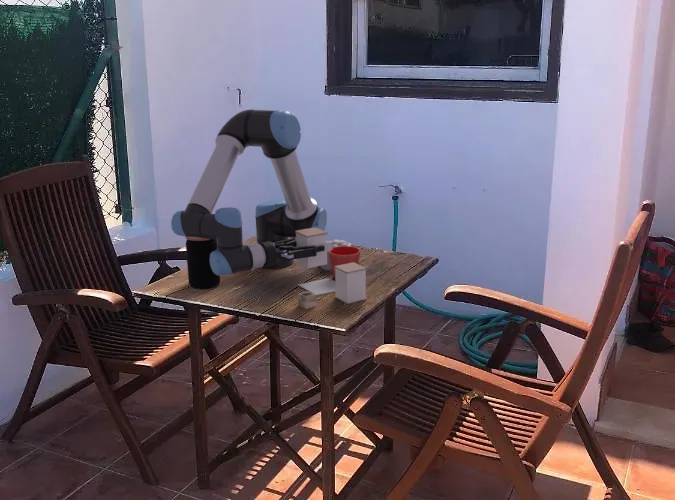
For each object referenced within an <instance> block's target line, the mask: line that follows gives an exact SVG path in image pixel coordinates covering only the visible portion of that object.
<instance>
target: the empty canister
mask: <svg viewBox="0 0 675 500" xmlns="http://www.w3.org/2000/svg"><path fill="white" fill-rule="evenodd" d="M334 268H335V278H334V279H335V280H334V281H335V285H336V292H335V298H336V299H338V300H339V301H342V302H344V303H345V304H353V303H356V302H360V301H364V300H367V298H366V297H367V290H366V289H367V280H366V279H367V278H366V275H367V273H366V272H367V267H365V266H363V265H361V264H359V263H358V264H356V263H354V262H353V263H348V264H343V265H338V266H334Z"/></svg>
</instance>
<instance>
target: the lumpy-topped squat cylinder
mask: <svg viewBox="0 0 675 500" xmlns="http://www.w3.org/2000/svg"><path fill="white" fill-rule="evenodd" d="M331 241H332V248H334V247H339V246H350V247H352V243H351V242H347V241H346V240H343V239H342V240H341V239H332V240H331ZM327 242H329V241H328V240H327ZM320 268H321V269H323V270H326V271H332V267H331V262H330V257H329V251H327V264H326V265H321V266H320Z"/></svg>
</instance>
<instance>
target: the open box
mask: <svg viewBox="0 0 675 500" xmlns="http://www.w3.org/2000/svg"><path fill="white" fill-rule="evenodd" d="M297 306H298V307H299V308H303V309H304V310H309V309H311V308H315V307H317V296H316V294H314V293H311V292H309V291H307V290H306V291H303V292H301V293H298V294H297Z"/></svg>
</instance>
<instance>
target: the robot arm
mask: <svg viewBox="0 0 675 500" xmlns="http://www.w3.org/2000/svg"><path fill="white" fill-rule="evenodd" d="M301 137H302V134H301V125H300V121H299V119H298V117H297V115H295V114H294V113H293V112H292V111H287V110H282V109H277V110H267V109H265V110H264V109H244V110H242V111H240V112H237V113H236V114H234V115H233V116H232V117H230V118H229V119H228V121H226V122H225V124H224V125H223V126H222V127H221V128H220V130H219V132H218V133H217V136H216V138H215V139H214V140H215V147H214V150H213V151H212V153H211V156H210V158H209V159H208V162H207V163H206V166H205V169H204V170H203V172H202V174H201V176H200V179H199V180H198V182H197V185H196V187H195V189H194V191H193V193H192V195H191V197H190V200H189V202H188V204H187V206H186V208H185V209H184V210H178V211H176V212H175V213H174V214H173V215H172V218H171V223H170V224H171V225H170V226H171V230H172V232H173V233H174V234H175V235H176V236H181V237H195V238H205V239H213V240H217V250H215V251H213V252H212V253H211V254H210V266H211V269H212V271H213V272H214V273H215V274H216V275H219V276H220V277H221V276H226V275H227V276H228V275H232V274H237V273H241V272H245V271H253V272H254V271H255V269H260V268H264V269H279V268H284V267H285V268H286V267H289V266H291V265H292V264H294V261H295V260H297V259H300V258H306V257H313V256H314V257H315V256H317V253H319V252H324V251H329V250H332V240H329V241H328V242H324V243H319V244H314V245H313V246H304V247H297V244H296V233H295V231H297V230H303V229H308V228H314V227H316V228H318V229H321V230H323V231H326V227H327V221H328V213H327V209H326V208H323V207H319V206H318V203H317V201H316V200H315V198H313V197H311V195H310V193H309V189H308V185H307V183H306V179H305V177H304V174H303V171H302V167H301V165H300V162H299V161H300V160H299V158H298V155H297V151H296V150H297V148H298V147H299V146H298V145H299V144H300V141H301ZM248 147H256V148H257V147H260V148H261V151H262V153H263V155H264V156H265V157H266V158H268V159H270V161H271V164H272V166H273V170H274V172H275V175H276V178H277V180H278V183H279V187H280V190H281V192H282V195H283V199H273V200H267V201H262V202H260V203H258V204H257V205H256V206H255V216H254V217H255V234H256V243H251V244H245V245H244V243H243V242H244V241H243V239H244V238H243V222H242V221H243V220H242V213H241V210H240V209H238V208H237V207H231V206H230V207H220V208H217V209H216V210H215V212H214V213H213V211H214V209H215V206H216V204H217V202H218V200H219V198H220V196H221V194H222V191H223V189H224V187H225V185H226V183H227V181H228V178H229V176H230V174H231V172H232V170H233V168H234V165H235V164H236V161H237V159H238V157H239V156H241V155H242V154H243V153H244V151H245V149H247V148H248Z"/></svg>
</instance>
